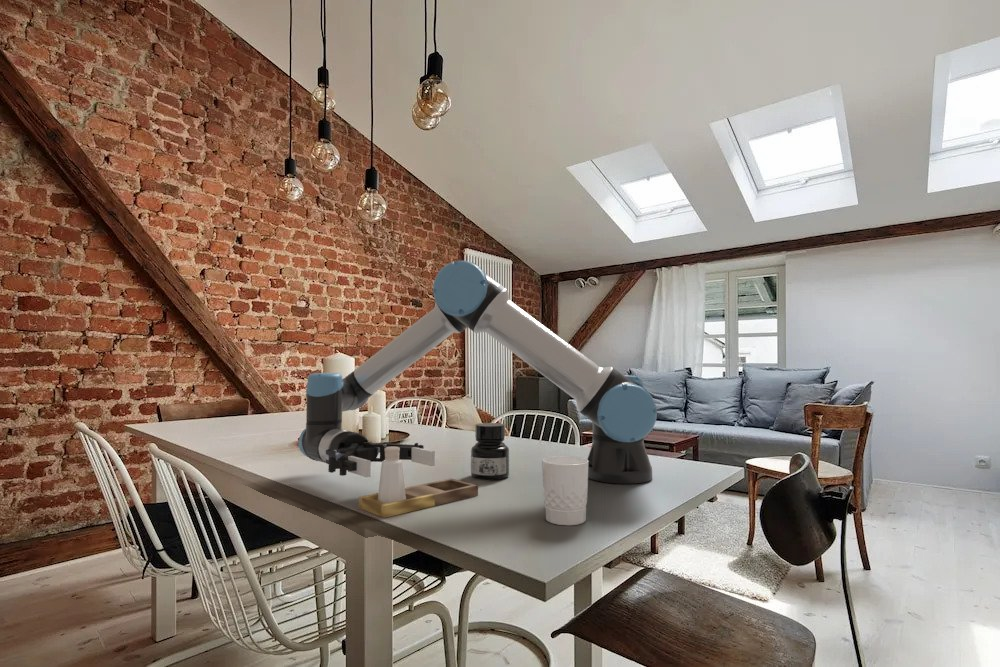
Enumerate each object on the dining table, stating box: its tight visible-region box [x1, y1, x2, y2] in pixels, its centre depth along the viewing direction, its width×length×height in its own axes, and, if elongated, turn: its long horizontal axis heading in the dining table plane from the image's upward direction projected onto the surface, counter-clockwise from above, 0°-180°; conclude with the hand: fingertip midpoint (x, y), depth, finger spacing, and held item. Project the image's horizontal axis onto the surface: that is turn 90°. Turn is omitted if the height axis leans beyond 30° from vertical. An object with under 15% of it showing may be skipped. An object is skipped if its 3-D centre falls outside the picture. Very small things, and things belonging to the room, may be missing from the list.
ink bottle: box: [470, 422, 510, 481], centre depth 123 cm, size 10×9×12 cm
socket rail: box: [358, 478, 479, 519], centre depth 101 cm, size 22×8×2 cm, turn 134°
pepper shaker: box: [377, 446, 406, 504], centre depth 97 cm, size 5×5×11 cm
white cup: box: [541, 455, 589, 526], centre depth 90 cm, size 8×8×10 cm
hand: (402, 463), depth 94 cm, fingers open, 13 cm apart
